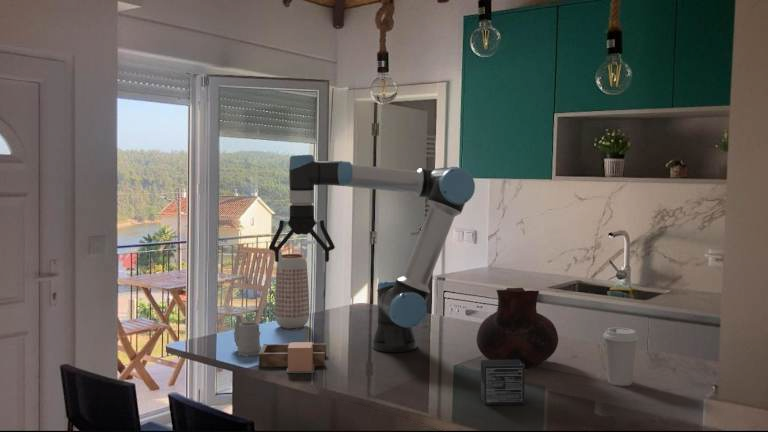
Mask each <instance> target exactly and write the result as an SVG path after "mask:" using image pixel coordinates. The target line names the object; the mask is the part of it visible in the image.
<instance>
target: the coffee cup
mask: <svg viewBox="0 0 768 432" xmlns="http://www.w3.org/2000/svg"><path fill="white" fill-rule="evenodd" d="M602 337H603V339H604V347H605V359H606V360H605V362H606V376H607V378H606V379H607V382H608V384H609V385H610V384H611V385H613V386H621V387H626V386H631V385H632V383H633V375H634V365H635V357H636V351H637V350H636V349H637V342H638V340H639V336H638V334H637V332H636V330H635V329H631V328H626V327H608V328H606V329H605V332H603V335H602Z"/></svg>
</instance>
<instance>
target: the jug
mask: <svg viewBox="0 0 768 432" xmlns="http://www.w3.org/2000/svg"><path fill="white" fill-rule="evenodd" d="M496 294H497V301H498V302H497V307H496V311H495V312H493V313H492V314H490V315H489V316H487V317H486V318H485V319H484V320H483V321H482V322H481V324H480V325H479V328H478V329H477V333H476V334H477V335H476V345H477V347H478V350H479V352H480V353H481V354H482V355H483V357H485V359H486V360H520V361H521V362H522V363H523V364H524V369H529V368H533V367H536V366H539V365H541V364H542V363H544V362H545V361H547V360H548V359H549V358H550V357H552V355H554V353H555V352H556V350H557V347H558V345H559V336H558V335H559V334H558V331H557V328H556V326H555V324H554V323H553V321H551V320H550V319H549V318H548V317H547V316H545V315H543V314H541V313H538V311H537V304H538V301H537V300H538V297H539V294H540V291H539V289H538V290H533V289H532V290H530V289H529V290H525V288H524V287H507V288H506V289H497V290H496Z"/></svg>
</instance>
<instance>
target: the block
mask: <svg viewBox="0 0 768 432" xmlns="http://www.w3.org/2000/svg"><path fill="white" fill-rule="evenodd" d="M288 344H289V346H288V366H287V368H288V371H311V370H312V366H313V344H314V342H313V341H310V342H309V341H306V342H305V341H302V342H300V341H298V342H297V341H296V342H295V341H293V342H289V343H288Z"/></svg>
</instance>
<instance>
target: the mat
mask: <svg viewBox="0 0 768 432" xmlns="http://www.w3.org/2000/svg"><path fill="white" fill-rule="evenodd" d="M315 367H316V366H315V364H313V366H312V370H311V371H288V367H287V368H286V373H285V374H309V373H310V374H313V373H314V371H315Z"/></svg>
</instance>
